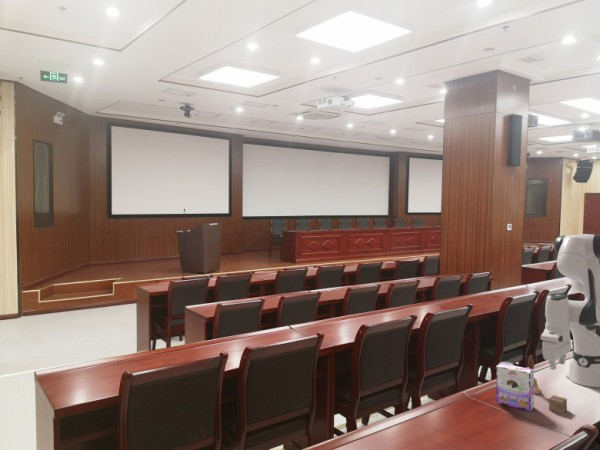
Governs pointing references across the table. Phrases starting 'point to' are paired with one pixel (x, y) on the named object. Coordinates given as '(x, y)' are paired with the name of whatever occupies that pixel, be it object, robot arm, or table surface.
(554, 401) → the walnut cube
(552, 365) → the robot arm
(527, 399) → the candy box
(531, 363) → the hand bell
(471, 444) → the table surface
